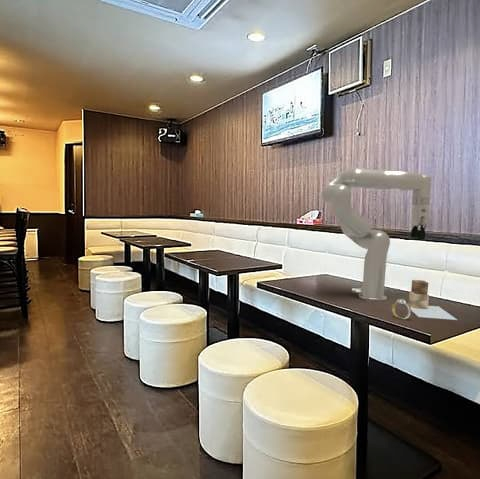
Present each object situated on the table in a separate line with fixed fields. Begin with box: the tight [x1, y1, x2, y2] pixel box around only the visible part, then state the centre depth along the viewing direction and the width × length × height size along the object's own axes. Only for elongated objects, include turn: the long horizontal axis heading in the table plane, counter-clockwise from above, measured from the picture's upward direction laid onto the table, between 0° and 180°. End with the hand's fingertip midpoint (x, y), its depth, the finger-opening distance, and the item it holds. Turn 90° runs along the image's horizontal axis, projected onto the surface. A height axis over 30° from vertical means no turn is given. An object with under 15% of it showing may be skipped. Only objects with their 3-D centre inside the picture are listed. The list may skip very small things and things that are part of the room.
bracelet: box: [391, 298, 412, 320], centre depth 148 cm, size 7×3×8 cm, turn 37°
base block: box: [408, 290, 430, 309], centre depth 166 cm, size 6×6×6 cm
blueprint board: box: [410, 305, 458, 321], centre depth 160 cm, size 14×21×1 cm
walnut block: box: [410, 279, 429, 295], centre depth 166 cm, size 5×5×5 cm
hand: (417, 238), depth 185 cm, fingers open, 9 cm apart
